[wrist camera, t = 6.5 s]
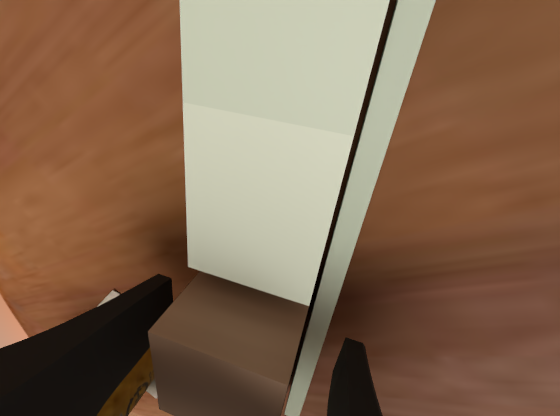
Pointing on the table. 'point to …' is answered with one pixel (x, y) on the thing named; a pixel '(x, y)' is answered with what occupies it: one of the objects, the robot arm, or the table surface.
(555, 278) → the table surface
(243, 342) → the walnut key block
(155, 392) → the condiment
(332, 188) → the sage bar
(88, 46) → the table surface
